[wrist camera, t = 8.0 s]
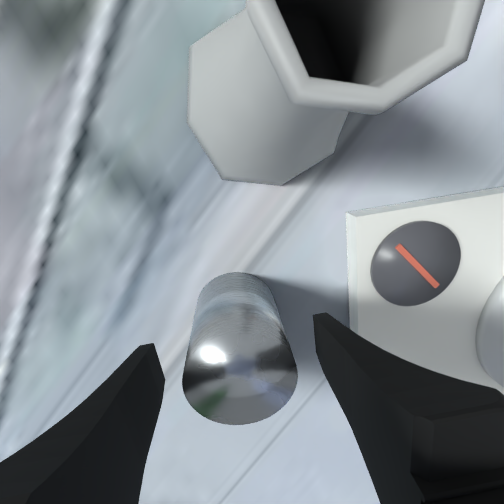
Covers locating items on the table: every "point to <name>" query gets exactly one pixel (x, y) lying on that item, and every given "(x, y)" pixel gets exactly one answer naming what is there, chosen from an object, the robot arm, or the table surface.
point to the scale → (432, 282)
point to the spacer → (238, 353)
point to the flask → (313, 75)
